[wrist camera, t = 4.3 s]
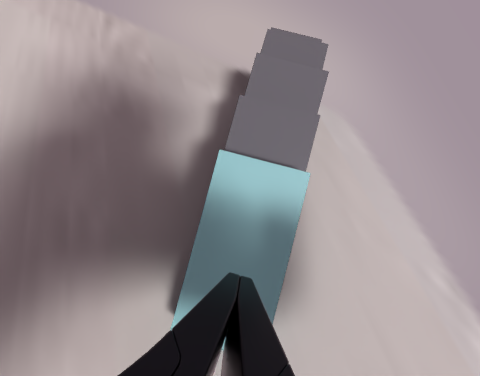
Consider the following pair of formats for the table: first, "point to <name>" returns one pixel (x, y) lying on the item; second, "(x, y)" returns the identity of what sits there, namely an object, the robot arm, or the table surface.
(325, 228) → the table surface
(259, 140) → the domino
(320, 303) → the table surface
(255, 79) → the domino
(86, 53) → the table surface
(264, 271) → the domino
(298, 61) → the domino
